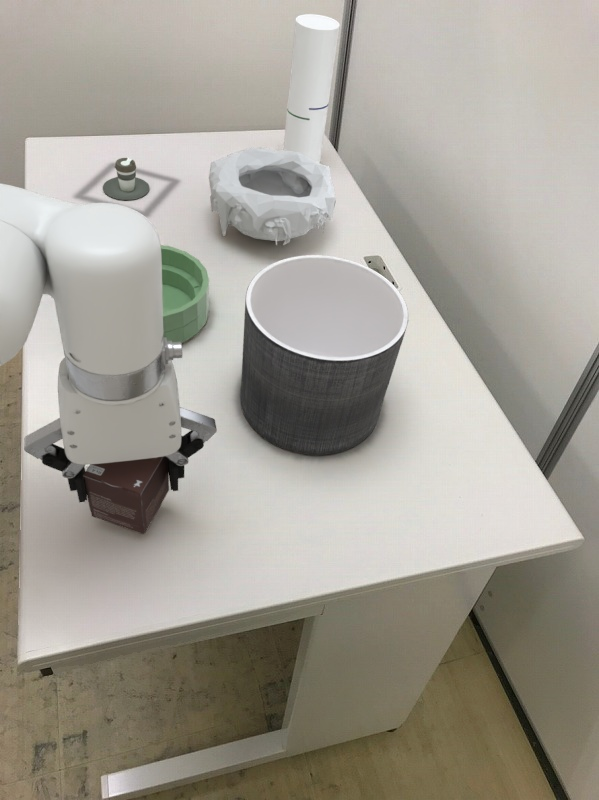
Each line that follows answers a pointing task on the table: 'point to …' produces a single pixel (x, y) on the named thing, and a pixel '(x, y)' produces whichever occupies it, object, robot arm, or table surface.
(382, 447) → the table surface
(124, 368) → the robot arm
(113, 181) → the coffee cup
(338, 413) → the planter
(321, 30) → the cylindrical container
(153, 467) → the box
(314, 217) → the bowl
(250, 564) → the table surface
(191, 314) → the green bowl
